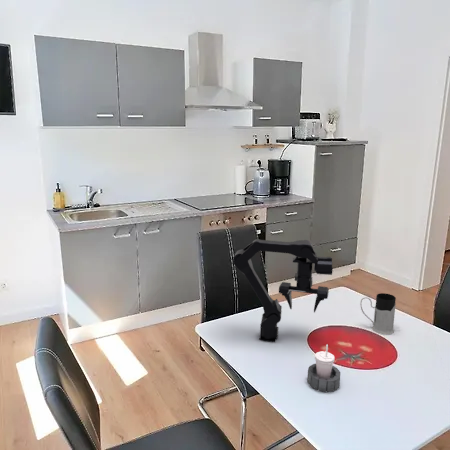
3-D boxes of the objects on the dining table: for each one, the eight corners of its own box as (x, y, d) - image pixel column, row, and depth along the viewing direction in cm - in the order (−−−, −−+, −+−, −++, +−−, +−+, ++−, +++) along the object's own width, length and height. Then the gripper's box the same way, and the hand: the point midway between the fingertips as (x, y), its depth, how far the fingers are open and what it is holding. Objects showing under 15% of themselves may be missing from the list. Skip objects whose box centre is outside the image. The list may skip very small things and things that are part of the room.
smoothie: (329, 390, 131) (331, 351, 128) (310, 383, 135) (312, 345, 132) (335, 380, 137) (338, 342, 133) (317, 374, 140) (319, 337, 137)
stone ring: (305, 388, 132) (306, 377, 131) (309, 371, 142) (310, 360, 141) (338, 394, 129) (339, 383, 128) (340, 376, 139) (341, 366, 138)
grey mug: (394, 336, 166) (398, 302, 163) (358, 331, 170) (361, 297, 167) (392, 326, 175) (396, 294, 171) (358, 322, 179) (361, 290, 175)
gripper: (330, 269, 161) (328, 305, 165) (284, 264, 167) (283, 299, 170) (328, 278, 151) (326, 317, 154) (279, 273, 156) (277, 310, 160)
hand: (302, 310), depth 160 cm, fingers open, 9 cm apart
